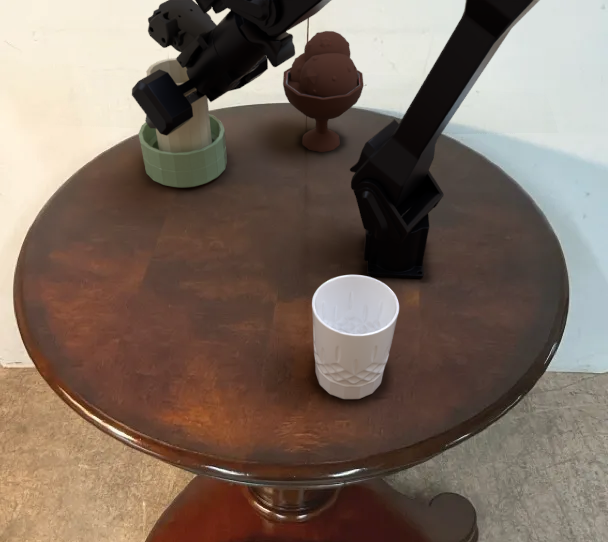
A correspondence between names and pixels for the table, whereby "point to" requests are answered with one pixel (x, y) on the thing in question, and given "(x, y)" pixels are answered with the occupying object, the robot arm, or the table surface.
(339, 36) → the ice cream bowl
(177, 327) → the table surface
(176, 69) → the cream cup
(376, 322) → the white cup
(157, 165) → the sage bowl
